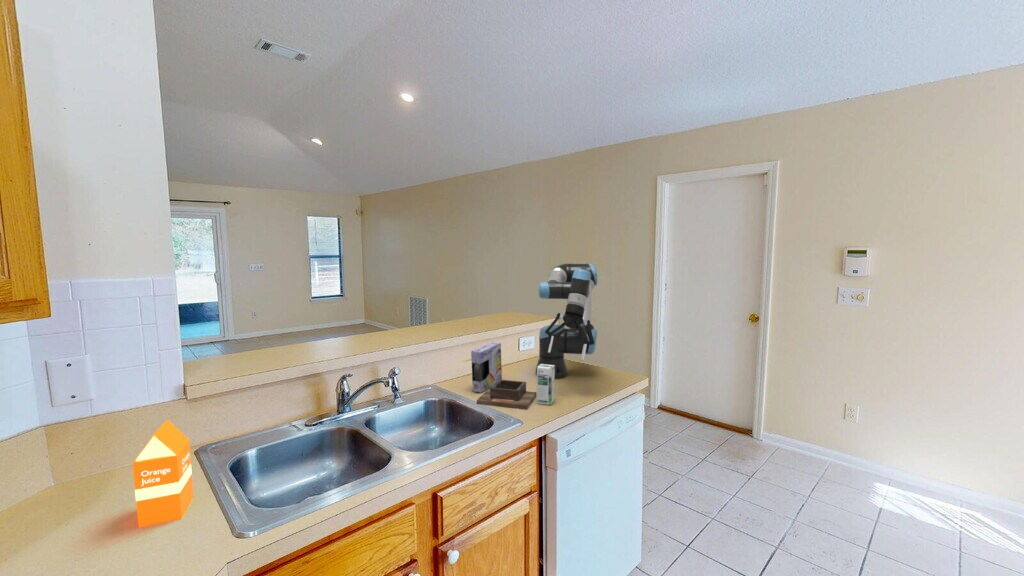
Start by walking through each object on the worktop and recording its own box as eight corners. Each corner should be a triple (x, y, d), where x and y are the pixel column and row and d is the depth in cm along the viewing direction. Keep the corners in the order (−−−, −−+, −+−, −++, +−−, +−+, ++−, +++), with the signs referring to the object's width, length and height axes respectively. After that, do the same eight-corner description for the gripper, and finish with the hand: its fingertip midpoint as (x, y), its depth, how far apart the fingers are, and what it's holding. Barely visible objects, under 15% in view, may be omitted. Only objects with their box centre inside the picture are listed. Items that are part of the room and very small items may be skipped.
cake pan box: (480, 394, 170) (478, 351, 168) (470, 392, 172) (468, 350, 171) (503, 380, 186) (501, 342, 185) (493, 379, 189) (491, 341, 188)
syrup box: (536, 403, 159) (536, 366, 158) (540, 398, 165) (540, 363, 164) (550, 405, 158) (551, 368, 156) (554, 400, 163) (555, 364, 162)
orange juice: (137, 528, 89) (129, 438, 87) (153, 504, 97) (146, 422, 95) (182, 518, 92) (175, 431, 90) (194, 496, 100) (188, 416, 98)
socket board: (490, 391, 174) (489, 378, 173) (536, 395, 168) (536, 382, 167) (476, 403, 159) (476, 389, 159) (527, 409, 154) (527, 395, 153)
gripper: (547, 296, 167) (536, 347, 162) (607, 311, 167) (598, 363, 162) (545, 300, 175) (534, 349, 169) (602, 314, 174) (593, 364, 169)
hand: (565, 356), depth 165 cm, fingers open, 13 cm apart
